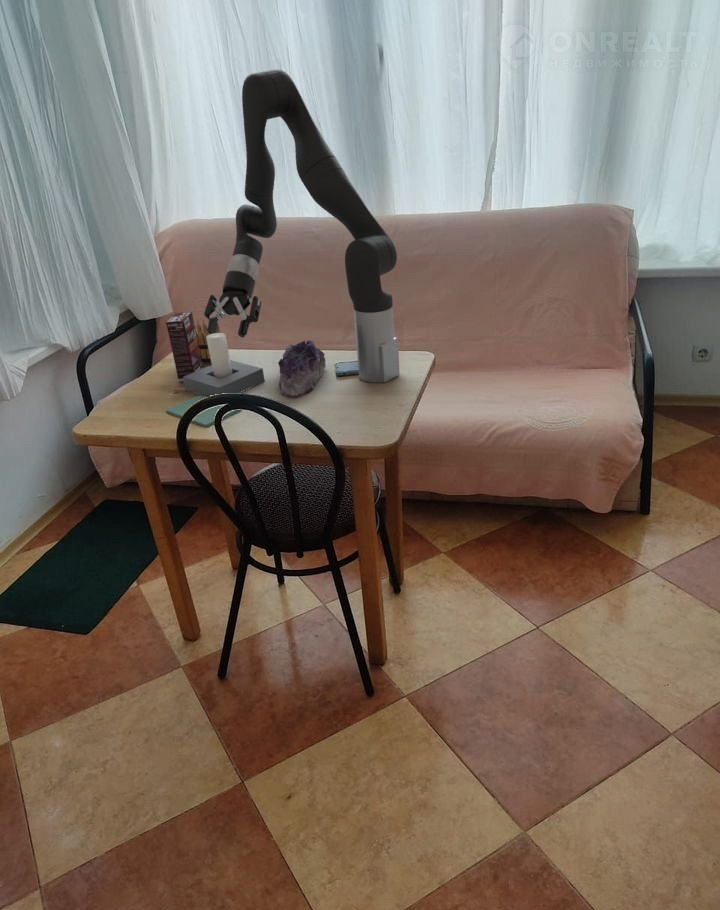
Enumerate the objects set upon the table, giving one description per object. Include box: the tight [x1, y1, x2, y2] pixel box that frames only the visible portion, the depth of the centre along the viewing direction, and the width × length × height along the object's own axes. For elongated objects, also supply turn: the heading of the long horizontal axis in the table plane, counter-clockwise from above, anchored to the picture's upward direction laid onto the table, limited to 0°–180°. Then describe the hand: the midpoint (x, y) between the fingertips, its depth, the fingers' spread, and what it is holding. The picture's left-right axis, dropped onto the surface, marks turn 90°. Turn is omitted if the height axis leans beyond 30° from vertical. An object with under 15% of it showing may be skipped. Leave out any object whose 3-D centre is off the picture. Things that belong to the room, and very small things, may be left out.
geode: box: [277, 340, 327, 399], centre depth 155 cm, size 20×12×10 cm, turn 175°
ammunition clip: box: [194, 319, 221, 364], centre depth 173 cm, size 11×2×12 cm, turn 76°
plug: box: [206, 332, 233, 379], centre depth 155 cm, size 5×5×13 cm
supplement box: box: [165, 311, 204, 383], centre depth 163 cm, size 9×5×16 cm, turn 179°
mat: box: [165, 394, 242, 428], centre depth 145 cm, size 15×10×1 cm, turn 50°
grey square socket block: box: [183, 359, 266, 397], centre depth 158 cm, size 14×14×4 cm
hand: (226, 335), depth 156 cm, fingers open, 8 cm apart
